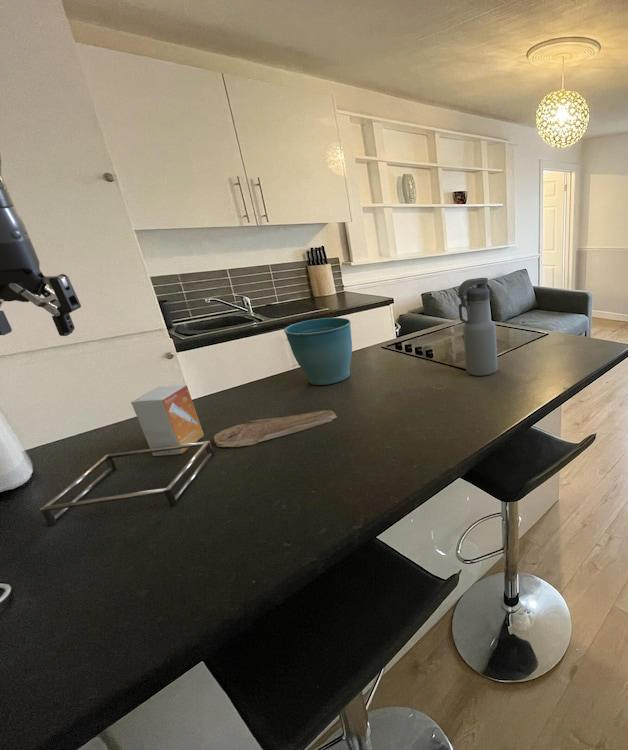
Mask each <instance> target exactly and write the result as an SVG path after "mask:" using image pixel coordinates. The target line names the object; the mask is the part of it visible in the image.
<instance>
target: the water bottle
mask: <svg viewBox="0 0 628 750" xmlns="http://www.w3.org/2000/svg"><path fill="white" fill-rule="evenodd" d="M488 283H489V278H488V277H477V278H470V279H466V280H464V281H463V282H462V283H461V284H460V285H459V287H458V290H457V297H458V298H459V299H460V303H459V304H458V317H459V320H460V322H461V323H462V322H463V323H464V324H463V326H462V334H463V345H464V359H465V360H464V361H465V370H466V372H467V374H469V375H471V376H474V377H486V376H490V375H493V374H494V373H496V372H497V371H498V368H499V367H498V366H499V365H498V347H497V346H498V344H497V325H496V323H495V322H494V321H493V320H492V319H491V314H490V311H491V310H490V300H491V299H490V298H491V295H490V289H489V288H488ZM463 308H465V309H466V310H465V311H466V317H467V319H464V316H463V310H462V309H463Z"/></svg>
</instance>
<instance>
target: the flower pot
mask: <svg viewBox="0 0 628 750" xmlns="http://www.w3.org/2000/svg"><path fill="white" fill-rule="evenodd" d="M351 323H352V322H351V320H350V319H349V318H344V317H323V318H315V319H309V320H304V321H300V322H299V321H298V322H295V323H293V324H290V325H288V326H286V327H285V328H284V329H283V332H284V334H285V335H286V338H287V341H288V344H289V346H290V349H291V352H292V354H293V357H294V359H295V361H296V363H297V364H298V366H299V368H300V369H301V370H302V372H303V373H304V374H305V376H306V377H307V378H306V379H307V381H308V383H310V384H311V385H313V386H314V385H315V386H327V385H333V384H337V383H340V382H342V381H344V380H346V379H348V378H349V377H350V375H351V371H350V369H351V361H352V357H353V340H352V329H351Z"/></svg>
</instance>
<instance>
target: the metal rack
mask: <svg viewBox="0 0 628 750" xmlns="http://www.w3.org/2000/svg"><path fill="white" fill-rule="evenodd" d="M189 447H190V448H195V447H199V448H198V449H197V451H196V452H195V453H194V454H193V456H192V457H191V458H190V459H189V460H188V462H187V463H186V464H185V465H184V466H183V467H182V469H181V470H180V471H179V472H177V474H176V475H175V476H174V478H173V479H172V481H170V483H169V484H168V485H167V486H166V487H163V488H156V489H150V490H143V491H137V492H129V493H123V494H116V495H111V496H103V497H98V498H91V499H85V500H84V499H83V500H81V499H82V498H84V496H85V495H86V494H88V493H89V492H90V491H92V489H93V488H94V487H96V486H97V485H98V484H99V483H100V482H101V481H102V480H103V479H104V478H105V477H107V476H108V475H109V474H110V473H111V472H115V471H116V470H118V469H117V466H116V464H115V462H114V460H113V459H115V458H122V457H123V458H124V457H130V456H138V455H145V454H152V452H160V451H167V450H174V449H182V448H188V449H190V448H189ZM205 450H206V453H207V454H206V456H205V458H203V460H202V461H201V462H200V463H199V465H198V466H197V467H196V469H195V470H194V471H193V473H192V474H191V475H190V476H189V477H188V479H187V480H186V481H185V482H184V483H183V485H182V486H181V488H179V490H178V491H177V493H175V494H174V492H173V488H175V486H176V484H178V482H179V481H180V480H181V479H182V478H183V476H184V475H185V474H186V472H188V470H189V469H190V468H191V467H192V465H193V464H194V463H195V462H196V460H197V459H198V458H199V457H200V456H201V454H202V453H203V452H204V451H205ZM214 457H215V453H214V450H213V447H212V444H211V441H210V440H205V441H197V442H196V443H190V444H182V445H175V446H168V447H160V448H153V449H150V448H147V449H139V450H131V451H125V452H116V453H107V454H105V455H103V457H102V458H101V459H99V460H98V461H97V462H95V464H93V465H92V466H90V467H89V468H88V469H87V470H86V471H85V472H83V473H82V474H81V475H80V476H79V477H77V478H76V479H75V480H73V482H71V483H70V484H69V485H68V486H66V487H65V488H64V489H63V490H61V491H60V492H59V493H58V494H57V495H56V496H55V497H53V498H52V499H50V500H49V501H48V502H46V504H44V506H42V507H40V508H39V511H40V513H41V514H42V516H43V517H44V520H45V521H46V523H47V525H48V526H49V527H53V526H55V525H57V524H58V520H59V519H60V518H61V517H62V516H63V515H64V514H65V513H67V511H69V510H70V509H71V508H75V507H83V506H89V505H95V504H103V503H108V502H114V501H120V500H128V499H134V498H141V497H147V496H152V495H160V494H165V497H166V500H167V501H168V504H169V506H170V507H175V506H177V505H178V500H179V499H180V497H181V496H182V495H183V493H184V492H185V491H186V489H187V488H188V487H189V486H190V484H191V483H192V482H193V481H194V479H195V478H196V477H197V475H198V474H199V472H200V471H201V470H202V469H203V467H204V466H205V465H206V464H207V462H208V461H209V460H210V458H214ZM104 463H106V465H107V467H108V468H107V469H106V470H105V471H104V472H102V474H101V475H99V476H98V477H97V478H96V479H95V480H94V481H92V482H91V483H90V484H89V485H88V486H86V488H85V489H83V490H82V491H81V492H79V494H78V495H76V497H74V498H73V499H72V500H71V501H70V502H65V503H58V502H59V501H61V499H63V498H64V497H65V496H66V495H67V494H69V493H70V492H71V491H72V490H73V489H74V488H75V487H77V486H78V485H79V484H80V483H82V482H83V481H84V480H85V479H87V477H89V476H90V475H91V474H92V473H94V472H95V471H96V470H97V469H98V468H99V467H101V466H102V465H103V464H104ZM57 503H58V504H57ZM56 510H60V511H58V512H57V513H56V514H55V515H54V513H53V512H52V511H56Z"/></svg>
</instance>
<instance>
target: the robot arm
mask: <svg viewBox="0 0 628 750" xmlns="http://www.w3.org/2000/svg"><path fill="white" fill-rule="evenodd" d="M1 154H2V153H0V308H1V307H2V305H3V304H4V302H21V303H29V302H30V303H32V304H33V305H34V306H36V307H38V308H42V309H44V310H45V311H46V312H48V313H49V314H51V315H52V316H51V318H52V321H53V323H54V326H55V328H56V330H57V333H58V335H59V336H60V337H67V336H69V335H71V334H72V333H73V331H75V325H74V322H73V320H72V317H71V315H70V314H71V313H72V312H74V311H77V310H79V309H80V308H82V304H81V302H80V299H79V298H78V296H77V295H78V294H77V293H76V291H75V289H74V287H73V285H72V282H71V280H70V278H69V276H68V275H67V274H66V273H65V274H64V273H61V274H58V275H45V274H44V273H43V272H42V271H41V269H40V260H39V258H38V254H37V252H36V250H35V247H34V245H33V243H32V240H31V237H30V235H29V232H28V230H27V228H26V225H25V223H24V220H23V219H22V217H21V216H20V214H19V212H18V210H17V209H16V206H15V204H14V201H13V199H12V197H11V194H10V192H9V189H8V187H7V185H6V183H5V180H4V177H3V174H2V155H1ZM47 285H48V287H49V288H48V287H46V286H47ZM52 290H53V291H52ZM41 296H43V297H41ZM12 331H13V328H12V327H11V323H9V320H8V318H7V315H6V314H5V311H4V310H0V336H6V335H8V334H10V333H12Z"/></svg>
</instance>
